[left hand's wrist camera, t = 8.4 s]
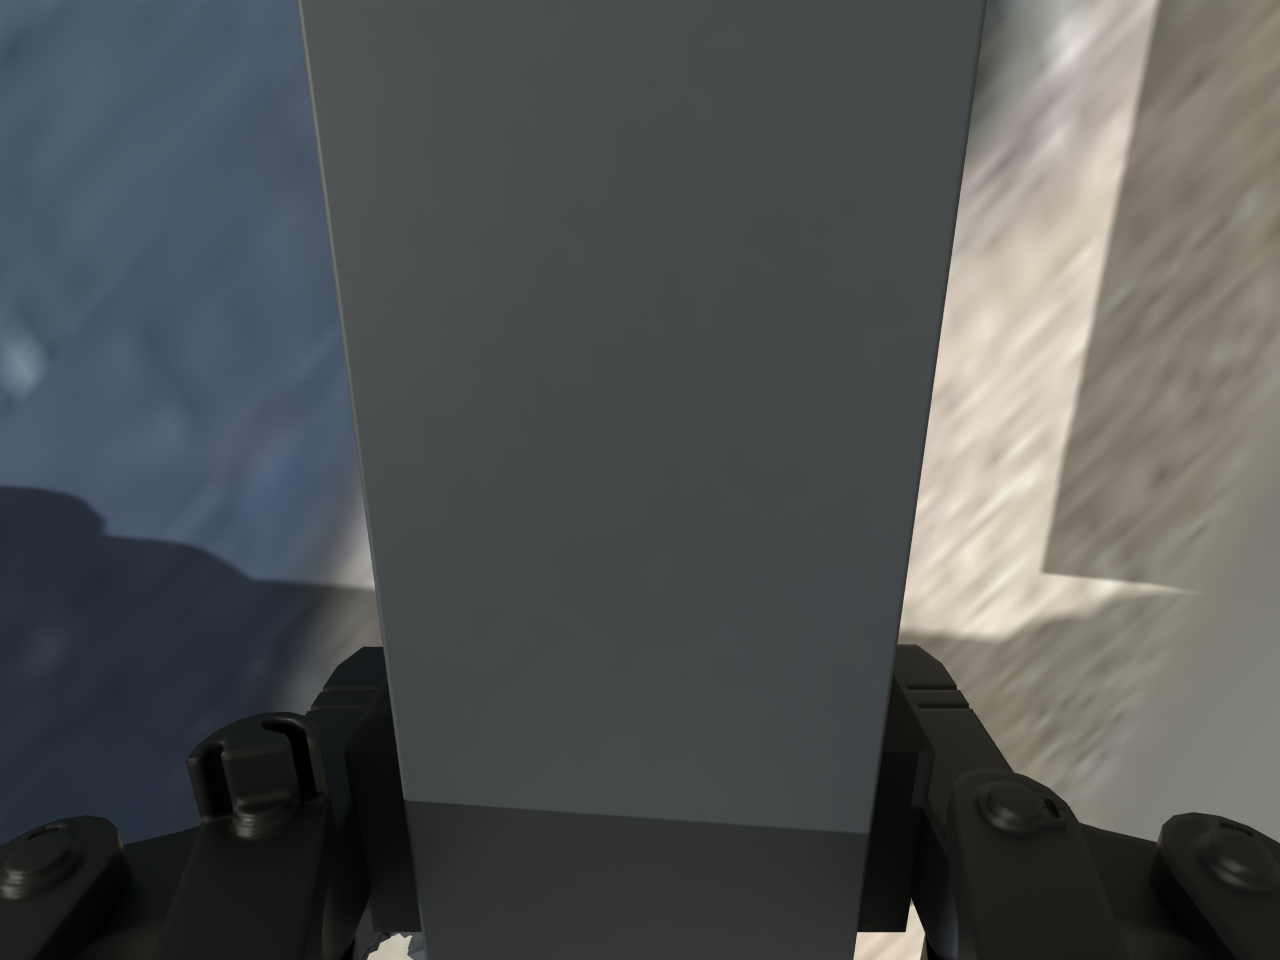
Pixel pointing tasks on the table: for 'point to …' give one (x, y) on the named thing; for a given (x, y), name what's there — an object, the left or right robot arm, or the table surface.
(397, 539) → the post
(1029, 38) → the table surface
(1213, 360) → the table surface
